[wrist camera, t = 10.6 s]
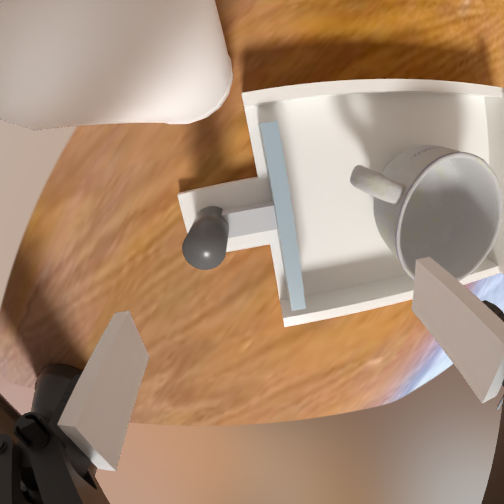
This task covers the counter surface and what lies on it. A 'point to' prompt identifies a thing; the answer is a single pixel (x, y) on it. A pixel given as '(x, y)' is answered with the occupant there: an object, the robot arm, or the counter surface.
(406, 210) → the teacup
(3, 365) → the counter surface
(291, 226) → the blue-grey panel and knob
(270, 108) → the tray
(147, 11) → the bottle
